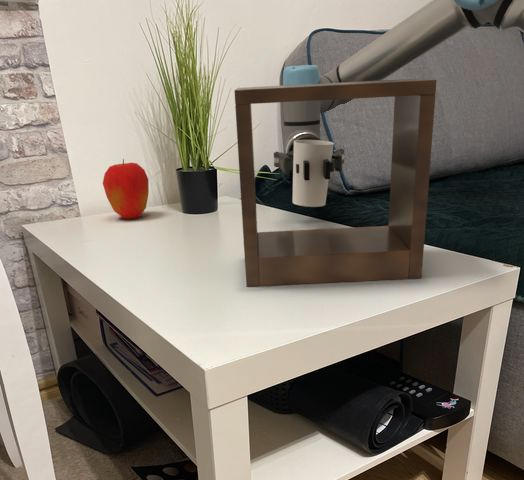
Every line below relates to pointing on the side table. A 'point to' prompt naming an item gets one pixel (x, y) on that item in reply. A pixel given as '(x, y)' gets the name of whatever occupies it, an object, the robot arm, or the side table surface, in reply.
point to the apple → (127, 189)
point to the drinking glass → (311, 172)
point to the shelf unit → (345, 239)
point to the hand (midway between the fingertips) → (317, 171)
